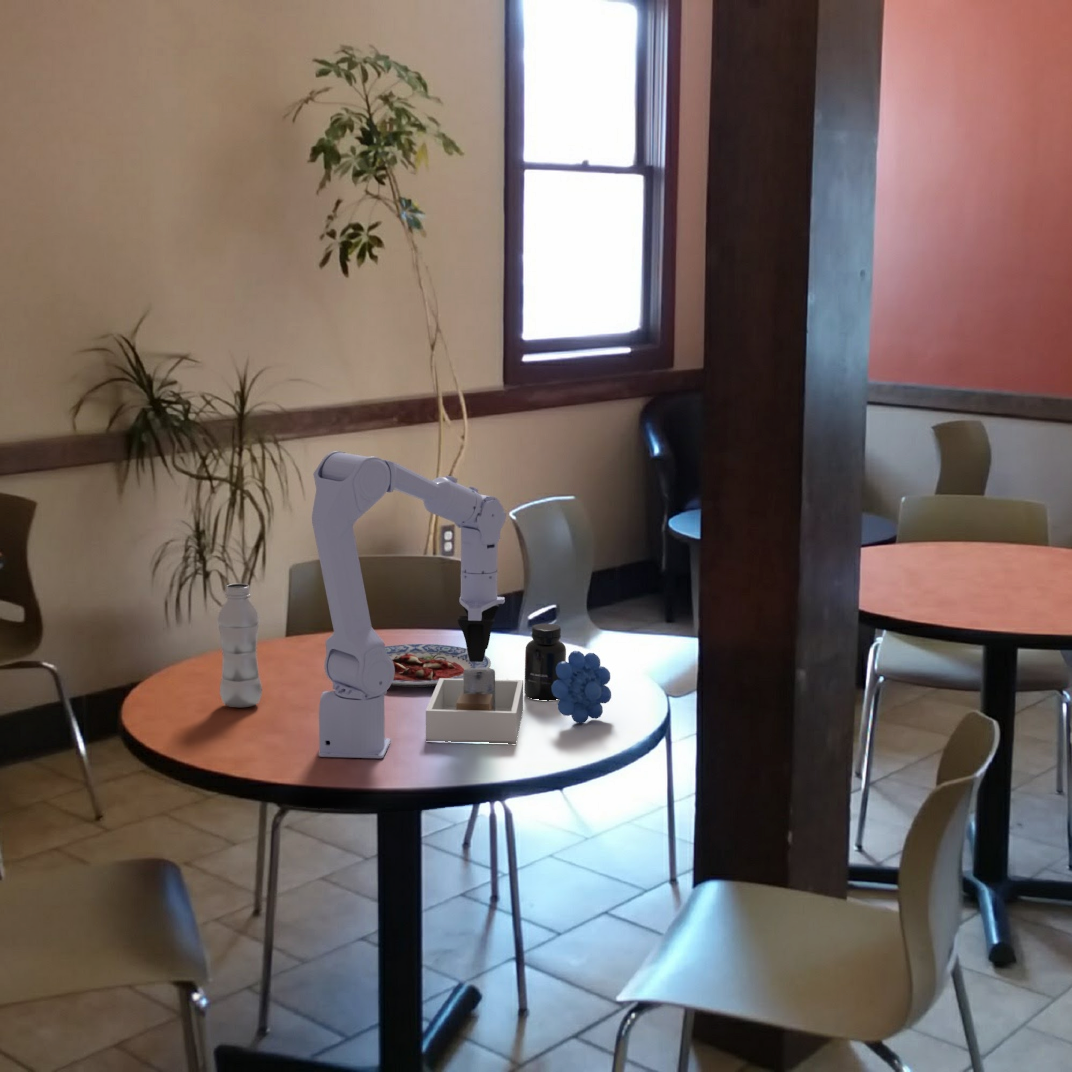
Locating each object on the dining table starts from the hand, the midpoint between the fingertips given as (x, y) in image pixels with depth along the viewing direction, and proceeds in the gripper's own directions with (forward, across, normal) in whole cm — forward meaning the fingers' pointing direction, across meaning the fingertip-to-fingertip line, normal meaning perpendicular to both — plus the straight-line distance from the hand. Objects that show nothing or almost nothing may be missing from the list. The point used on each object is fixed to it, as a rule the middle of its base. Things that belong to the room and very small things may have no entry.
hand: (478, 654), depth 223 cm
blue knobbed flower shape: (+11, -2, -17) cm, 20 cm away
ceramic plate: (+11, +25, +13) cm, 30 cm away
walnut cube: (+10, -8, 0) cm, 13 cm away
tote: (+10, -4, 0) cm, 11 cm away
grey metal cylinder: (+10, 0, 0) cm, 10 cm away
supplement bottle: (+11, +13, -10) cm, 20 cm away
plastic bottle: (+11, +3, +39) cm, 41 cm away
